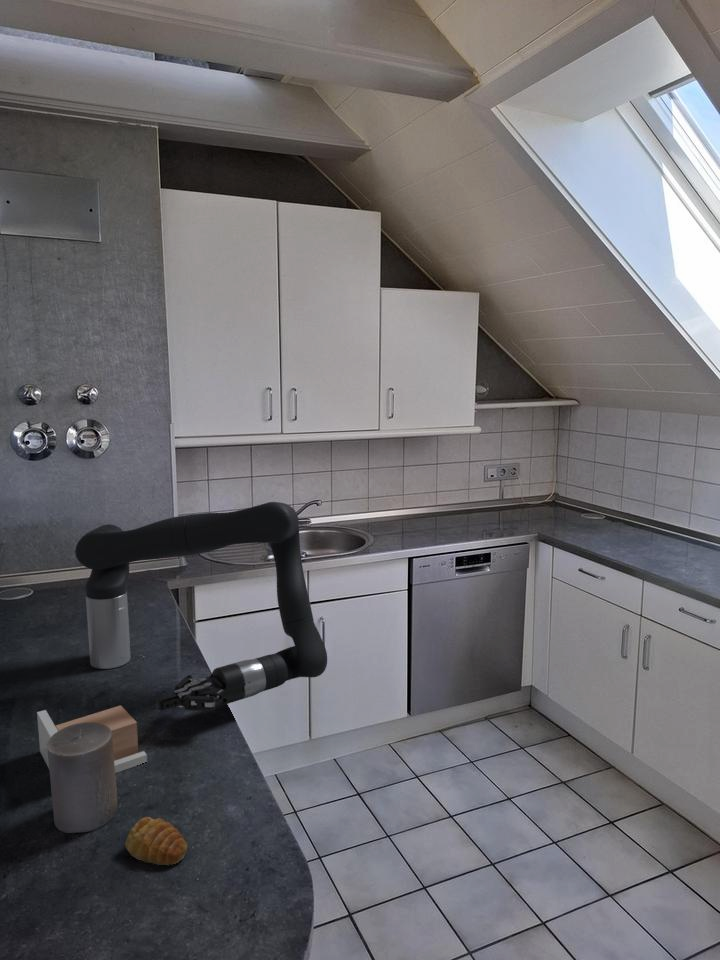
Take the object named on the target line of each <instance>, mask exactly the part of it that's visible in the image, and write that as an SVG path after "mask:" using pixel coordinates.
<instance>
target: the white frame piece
mask: <svg viewBox="0 0 720 960" xmlns="http://www.w3.org/2000/svg"><path fill="white" fill-rule="evenodd" d="M36 716H37V717H36V718H37V729H38V740H39V742H38V743H39V752H40V754H41V756H42V758H43V760H44V763H45V764H46V766H47V768H48V769H49V761H48V750H47V743H48V741H49V739H50V738H51V737H52V736H53V735H54V734H55V733H56V732H58V730H57V728H56V725H55V723H54V722H53V720H52V718H51V717H50V715H49V713H48V711H47V710H46V709H44V710H40V711H36ZM145 762H147V763H148V755H147V752H146V751H145V750H142V751H140V752H138V753H137V754H134V755H131V756H128V757H125V758H122V759H119V760H116V761H114V765H115V774H117V773H121V772H123V771H126V770H129V769H132V768H134V767H137V765H138V766H140V764H141V765H143V764H142V763H144V764H146V763H145Z"/></svg>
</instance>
